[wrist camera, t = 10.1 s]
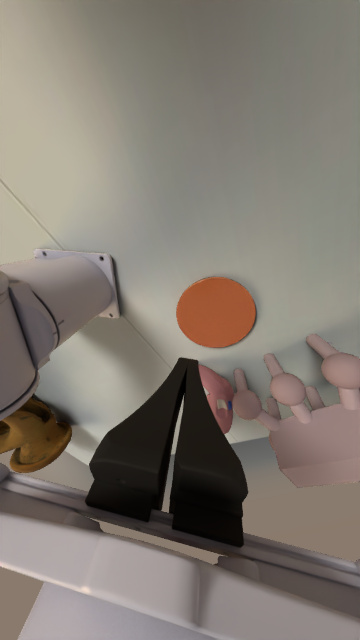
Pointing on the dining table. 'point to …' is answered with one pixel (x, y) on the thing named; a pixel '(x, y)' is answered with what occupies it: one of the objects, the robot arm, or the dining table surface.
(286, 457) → the toy sheep
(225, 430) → the video game controller
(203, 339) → the terracotta coaster
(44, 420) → the brown looped sculpture
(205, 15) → the dining table surface
